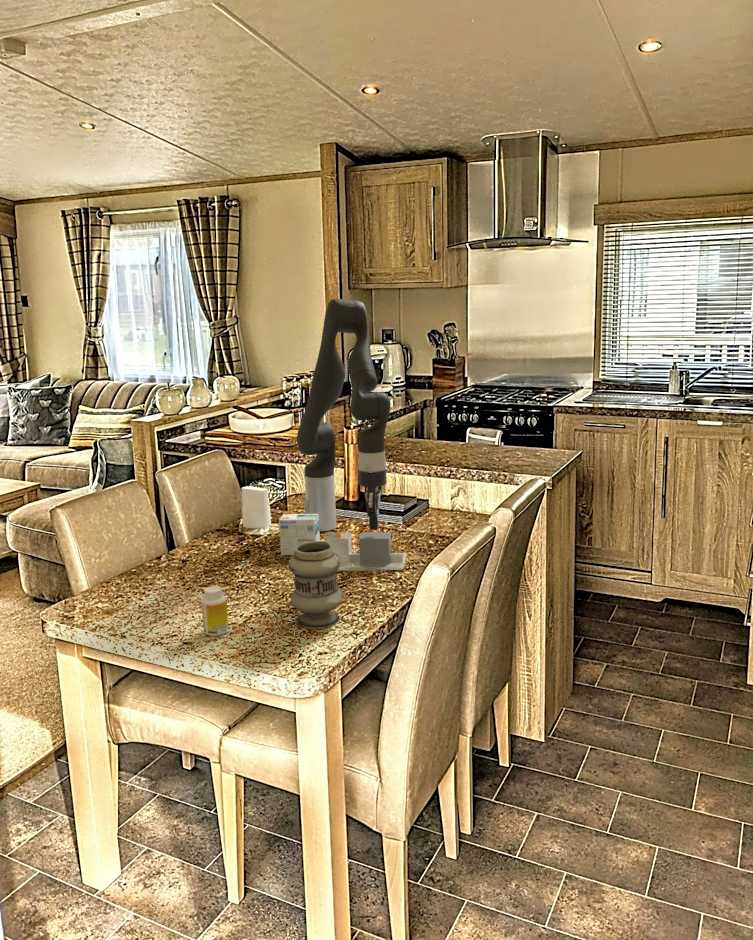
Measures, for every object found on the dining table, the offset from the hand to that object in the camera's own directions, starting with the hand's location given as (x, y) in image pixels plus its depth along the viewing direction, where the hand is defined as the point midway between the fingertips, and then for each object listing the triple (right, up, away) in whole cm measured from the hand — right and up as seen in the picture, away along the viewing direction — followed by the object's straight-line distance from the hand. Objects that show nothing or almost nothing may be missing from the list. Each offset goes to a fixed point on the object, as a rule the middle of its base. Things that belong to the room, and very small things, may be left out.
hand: (373, 529), depth 232 cm
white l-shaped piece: (-2, -10, +3) cm, 10 cm away
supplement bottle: (-35, -21, -40) cm, 57 cm away
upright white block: (-38, -2, +44) cm, 58 cm away
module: (+1, -9, +2) cm, 9 cm away
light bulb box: (-21, -8, +15) cm, 27 cm away
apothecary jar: (-13, -19, -35) cm, 42 cm away
